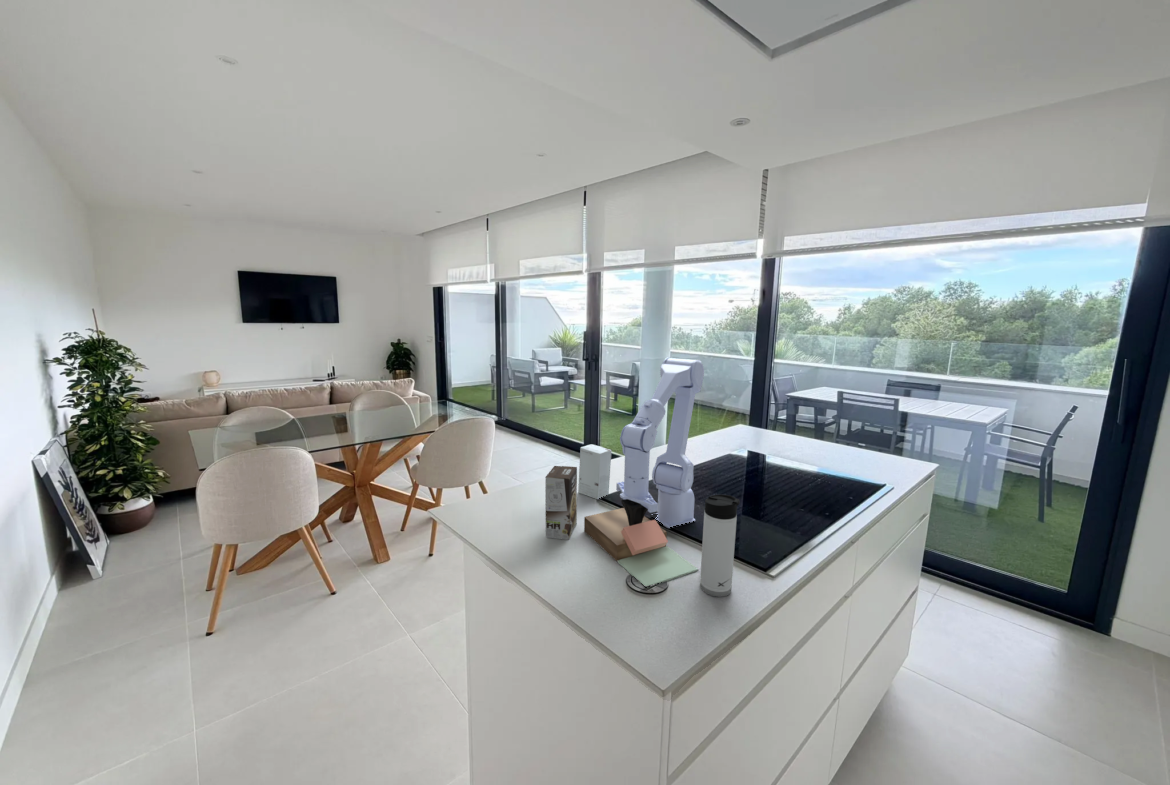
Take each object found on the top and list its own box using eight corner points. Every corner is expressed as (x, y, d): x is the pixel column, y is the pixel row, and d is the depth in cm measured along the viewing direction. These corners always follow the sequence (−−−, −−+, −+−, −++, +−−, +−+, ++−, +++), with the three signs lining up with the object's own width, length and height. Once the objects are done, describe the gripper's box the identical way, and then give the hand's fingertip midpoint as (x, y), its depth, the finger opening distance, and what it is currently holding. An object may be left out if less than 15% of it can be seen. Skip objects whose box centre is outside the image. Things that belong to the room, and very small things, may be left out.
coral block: (652, 524, 110) (655, 519, 109) (664, 546, 107) (668, 541, 105) (621, 532, 106) (623, 527, 105) (632, 555, 102) (635, 550, 101)
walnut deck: (629, 520, 124) (630, 506, 124) (666, 547, 111) (666, 531, 110) (584, 531, 118) (584, 516, 117) (616, 561, 104) (617, 545, 103)
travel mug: (728, 601, 90) (735, 506, 86) (695, 590, 94) (701, 499, 90) (736, 585, 95) (743, 495, 92) (705, 575, 99) (710, 488, 95)
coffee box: (569, 540, 113) (569, 478, 110) (544, 537, 115) (544, 476, 112) (577, 523, 122) (578, 466, 119) (554, 521, 123) (554, 464, 120)
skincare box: (577, 493, 142) (578, 447, 139) (590, 487, 147) (590, 443, 144) (598, 500, 137) (599, 453, 134) (611, 494, 141) (611, 448, 139)
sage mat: (666, 547, 110) (667, 546, 110) (697, 570, 101) (698, 568, 101) (617, 562, 104) (617, 560, 104) (645, 588, 94) (645, 586, 94)
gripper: (606, 467, 111) (605, 519, 114) (639, 488, 99) (638, 546, 101) (630, 463, 114) (629, 514, 117) (666, 483, 102) (663, 539, 104)
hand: (634, 528), depth 109 cm, fingers closed
